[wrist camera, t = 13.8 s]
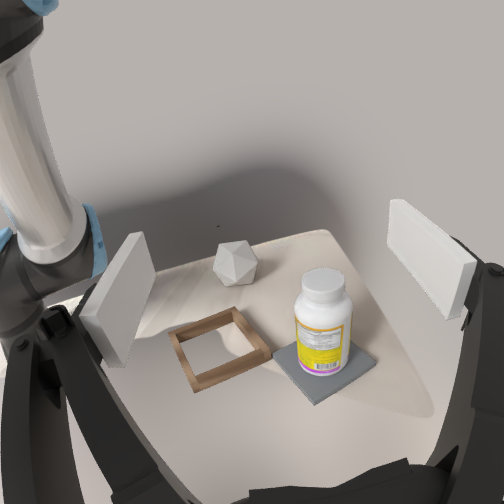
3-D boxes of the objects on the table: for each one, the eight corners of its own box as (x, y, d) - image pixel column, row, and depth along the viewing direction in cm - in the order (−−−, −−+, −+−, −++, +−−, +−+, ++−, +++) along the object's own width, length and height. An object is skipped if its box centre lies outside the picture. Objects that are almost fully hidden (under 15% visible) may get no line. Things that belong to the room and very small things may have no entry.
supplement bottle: (320, 334, 41) (319, 256, 35) (357, 355, 36) (366, 274, 30) (287, 361, 38) (279, 282, 32) (325, 387, 33) (329, 306, 27)
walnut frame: (171, 341, 45) (167, 332, 44) (236, 315, 49) (234, 306, 48) (194, 393, 35) (190, 384, 34) (271, 358, 39) (270, 349, 38)
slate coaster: (272, 357, 40) (271, 353, 39) (329, 327, 43) (329, 323, 43) (314, 405, 32) (314, 402, 31) (375, 365, 35) (376, 361, 35)
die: (262, 269, 62) (231, 233, 61) (275, 268, 53) (240, 226, 53) (232, 296, 60) (200, 259, 59) (240, 299, 52) (204, 256, 51)
